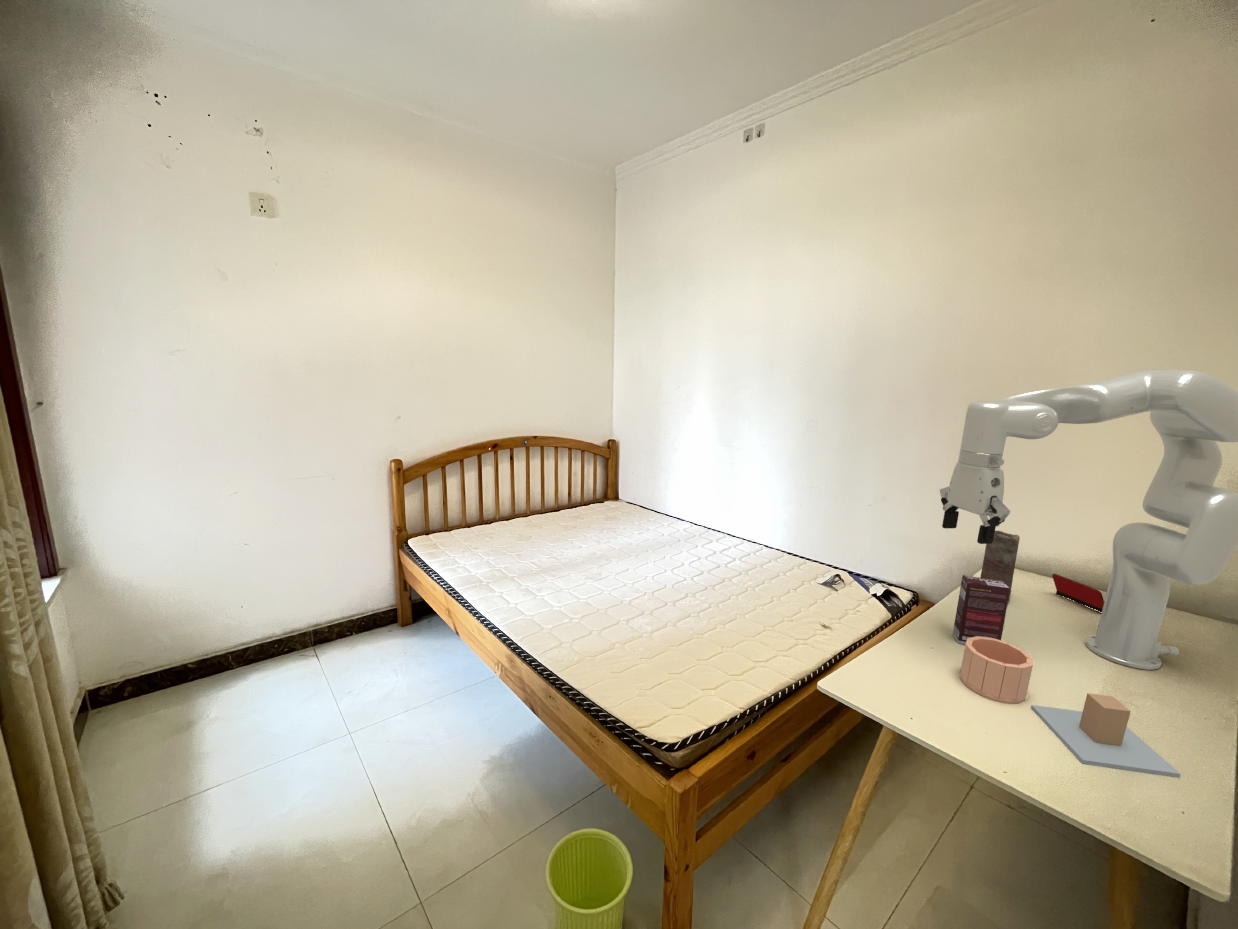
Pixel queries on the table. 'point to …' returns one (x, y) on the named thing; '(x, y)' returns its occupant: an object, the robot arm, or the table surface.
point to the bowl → (996, 669)
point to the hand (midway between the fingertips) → (966, 535)
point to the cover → (1103, 736)
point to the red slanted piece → (1078, 592)
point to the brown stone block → (1001, 558)
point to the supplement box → (980, 608)
